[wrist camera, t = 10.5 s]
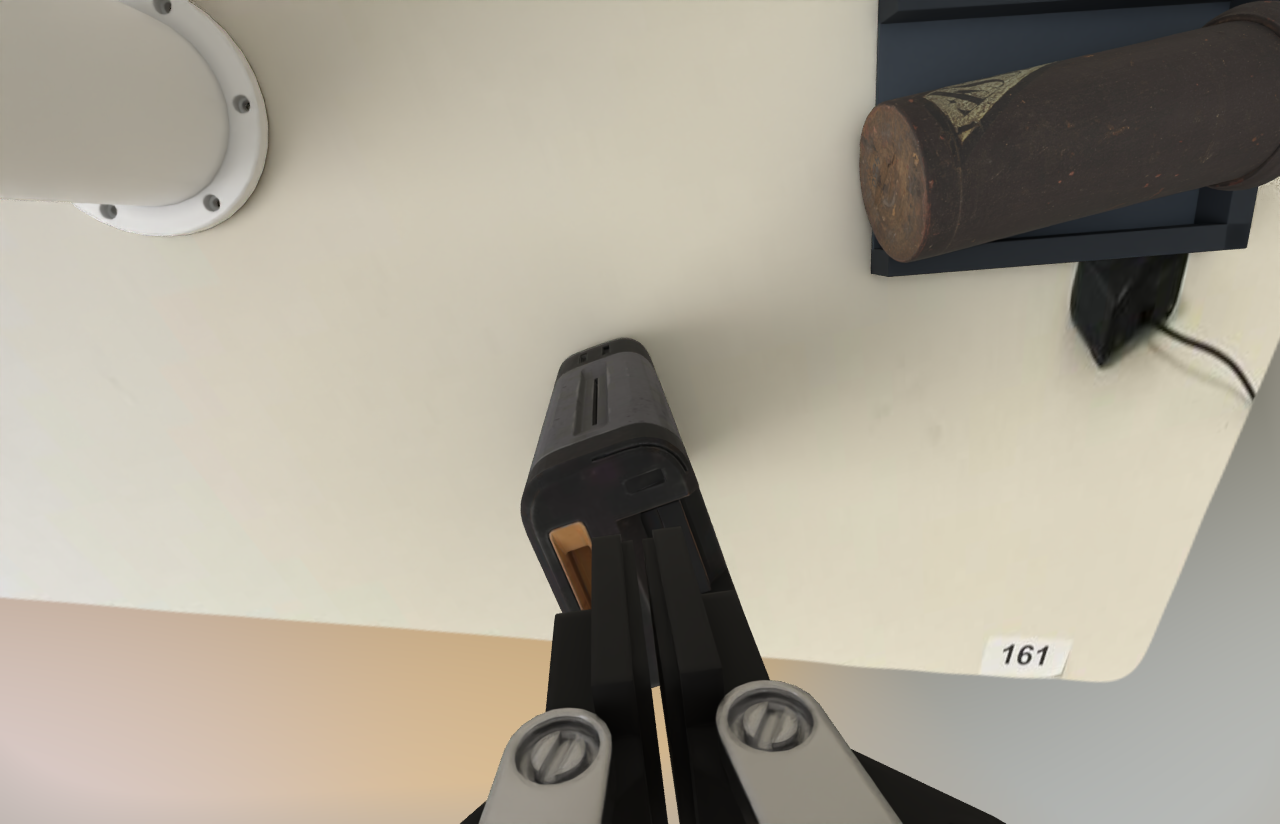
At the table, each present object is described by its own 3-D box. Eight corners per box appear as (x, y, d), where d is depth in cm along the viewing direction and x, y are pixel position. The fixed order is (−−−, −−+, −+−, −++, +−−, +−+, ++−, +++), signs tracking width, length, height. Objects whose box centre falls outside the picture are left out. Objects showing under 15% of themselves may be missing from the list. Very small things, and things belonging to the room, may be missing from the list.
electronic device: (687, 461, 42) (760, 659, 23) (602, 491, 42) (603, 712, 23) (640, 328, 39) (678, 425, 20) (549, 361, 40) (501, 488, 20)
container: (843, 171, 39) (1168, 90, 39) (893, 299, 36) (1243, 214, 36) (880, 54, 31) (1294, -50, 30) (948, 208, 28) (1404, 97, 28)
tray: (870, 273, 39) (888, 276, 37) (878, -6, 35) (898, -23, 33) (1208, 246, 40) (1247, 248, 38) (1256, -30, 36) (1303, -48, 33)
